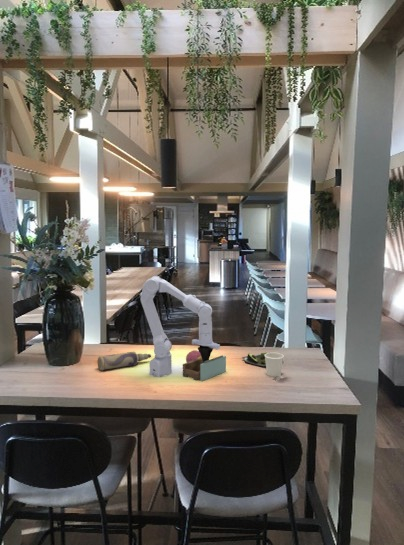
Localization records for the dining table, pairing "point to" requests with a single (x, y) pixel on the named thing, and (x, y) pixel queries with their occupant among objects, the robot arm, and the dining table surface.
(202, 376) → the panel
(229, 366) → the dining table surface
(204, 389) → the dining table surface
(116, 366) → the decorative bottle
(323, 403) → the dining table surface
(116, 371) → the dining table surface
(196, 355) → the cupcake
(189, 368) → the cart bed
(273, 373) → the dixie cup
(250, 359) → the salad plate
